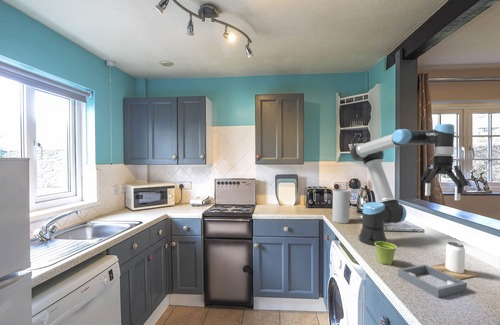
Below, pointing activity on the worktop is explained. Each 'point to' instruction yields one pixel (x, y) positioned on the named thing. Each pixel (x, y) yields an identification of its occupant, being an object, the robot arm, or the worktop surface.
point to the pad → (457, 275)
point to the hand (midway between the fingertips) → (441, 197)
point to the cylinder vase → (341, 206)
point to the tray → (451, 288)
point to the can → (455, 257)
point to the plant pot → (385, 252)
